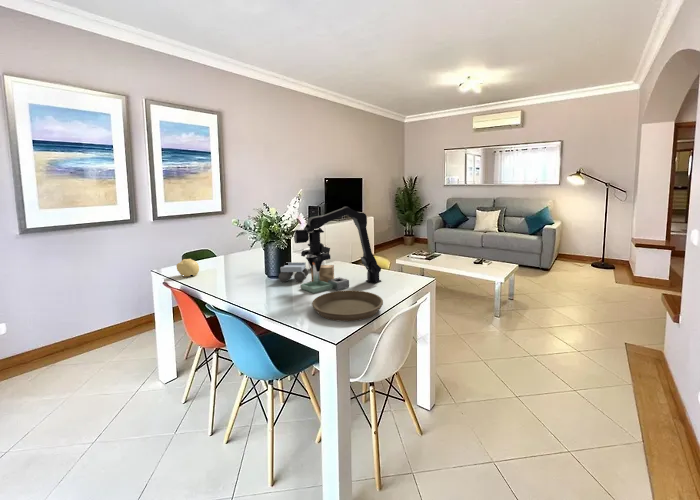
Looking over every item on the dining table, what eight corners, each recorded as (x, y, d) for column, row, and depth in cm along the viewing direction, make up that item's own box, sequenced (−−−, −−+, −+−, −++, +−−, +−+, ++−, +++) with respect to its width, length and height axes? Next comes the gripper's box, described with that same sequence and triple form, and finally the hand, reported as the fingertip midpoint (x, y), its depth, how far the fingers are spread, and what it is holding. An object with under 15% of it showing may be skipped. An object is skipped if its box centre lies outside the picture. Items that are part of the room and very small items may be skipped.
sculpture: (187, 273, 237) (185, 256, 235) (203, 274, 233) (201, 257, 231) (174, 277, 226) (172, 260, 224) (191, 278, 223) (189, 261, 221)
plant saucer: (363, 329, 142) (362, 317, 141) (298, 316, 157) (297, 306, 156) (394, 304, 168) (394, 295, 168) (336, 296, 183) (335, 287, 182)
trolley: (308, 276, 220) (308, 262, 219) (304, 282, 208) (304, 267, 207) (284, 276, 221) (283, 262, 220) (278, 282, 210) (277, 267, 208)
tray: (332, 288, 194) (332, 284, 194) (314, 293, 187) (313, 289, 186) (319, 284, 203) (319, 280, 203) (301, 288, 196) (300, 284, 195)
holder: (349, 287, 197) (349, 280, 196) (337, 290, 191) (337, 283, 191) (339, 284, 203) (339, 277, 202) (328, 287, 197) (327, 280, 197)
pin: (321, 280, 194) (320, 262, 192) (315, 281, 192) (314, 263, 190) (317, 279, 197) (316, 261, 195) (311, 280, 195) (310, 262, 193)
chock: (334, 280, 211) (333, 265, 210) (333, 283, 206) (332, 267, 204) (313, 280, 212) (312, 265, 211) (311, 283, 206) (311, 267, 205)
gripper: (338, 241, 189) (339, 271, 191) (317, 237, 203) (318, 265, 205) (320, 244, 181) (322, 275, 184) (299, 240, 195) (301, 269, 198)
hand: (316, 271), depth 193 cm, fingers closed on pin, 3 cm apart
